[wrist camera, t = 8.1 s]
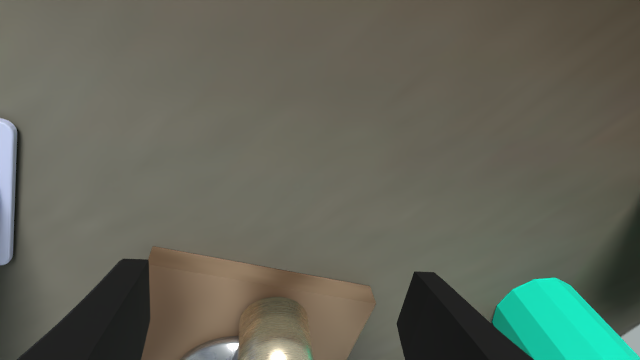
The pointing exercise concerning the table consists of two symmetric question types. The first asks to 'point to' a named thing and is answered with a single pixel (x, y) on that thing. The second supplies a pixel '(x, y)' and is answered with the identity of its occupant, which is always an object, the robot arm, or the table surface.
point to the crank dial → (263, 335)
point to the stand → (243, 303)
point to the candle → (557, 324)
